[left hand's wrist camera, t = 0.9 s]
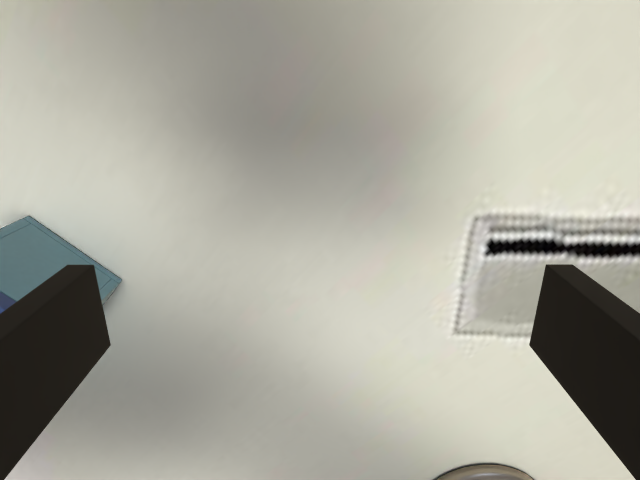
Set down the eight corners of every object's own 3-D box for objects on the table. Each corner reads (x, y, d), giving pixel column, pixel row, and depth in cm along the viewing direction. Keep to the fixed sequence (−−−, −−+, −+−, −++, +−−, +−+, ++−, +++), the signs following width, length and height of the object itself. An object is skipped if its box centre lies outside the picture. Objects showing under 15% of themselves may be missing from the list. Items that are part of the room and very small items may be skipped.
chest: (47, 376, 42) (-19, 447, 34) (-42, 322, 40) (-136, 385, 32) (122, 279, 38) (68, 333, 30) (28, 215, 36) (-58, 254, 28)
